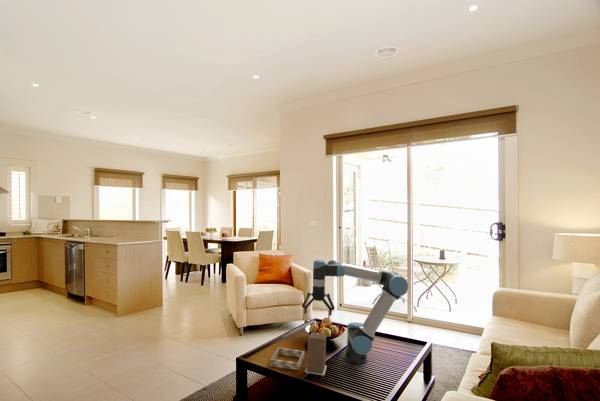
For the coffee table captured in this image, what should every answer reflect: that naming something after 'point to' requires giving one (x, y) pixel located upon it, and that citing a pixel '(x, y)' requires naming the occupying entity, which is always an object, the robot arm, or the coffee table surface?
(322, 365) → the wooden block
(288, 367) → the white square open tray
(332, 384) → the coffee table surface
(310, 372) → the pad
